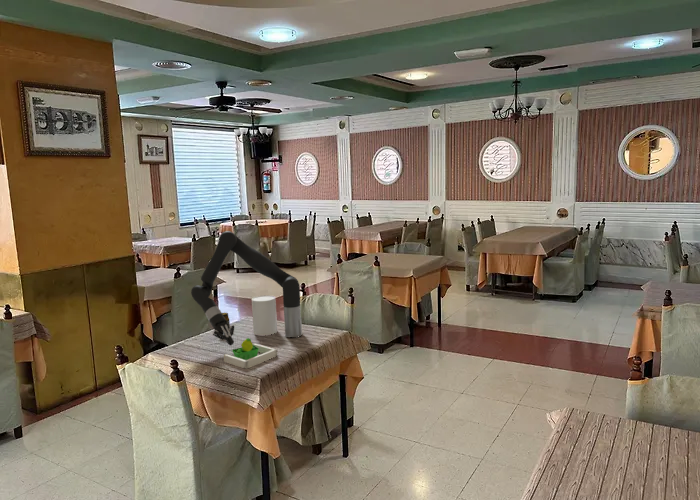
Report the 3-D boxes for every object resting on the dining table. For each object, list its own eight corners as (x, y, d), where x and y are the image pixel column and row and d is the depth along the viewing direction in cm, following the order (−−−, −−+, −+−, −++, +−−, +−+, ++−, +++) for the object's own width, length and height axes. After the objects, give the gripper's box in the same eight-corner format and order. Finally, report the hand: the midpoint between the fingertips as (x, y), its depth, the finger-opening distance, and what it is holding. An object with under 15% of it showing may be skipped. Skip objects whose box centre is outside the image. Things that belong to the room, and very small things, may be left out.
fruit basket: (253, 354, 254) (252, 332, 252) (261, 359, 247) (259, 336, 245) (232, 359, 247) (230, 337, 246) (239, 364, 240) (237, 342, 238)
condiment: (227, 331, 294) (226, 311, 292) (234, 334, 287) (233, 314, 286) (216, 334, 289) (214, 313, 288) (222, 337, 283) (221, 316, 281)
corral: (224, 361, 245) (223, 354, 244) (255, 349, 260) (255, 343, 259) (245, 369, 234) (245, 361, 234) (277, 356, 250) (277, 349, 249)
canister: (249, 334, 285) (247, 300, 282) (260, 327, 298) (258, 295, 295) (271, 336, 281) (268, 301, 278) (281, 329, 294) (279, 295, 291)
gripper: (207, 316, 254) (224, 343, 248) (228, 310, 264) (245, 336, 258) (202, 324, 258) (218, 351, 252) (223, 318, 268) (239, 344, 262)
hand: (232, 344), depth 255 cm, fingers closed
